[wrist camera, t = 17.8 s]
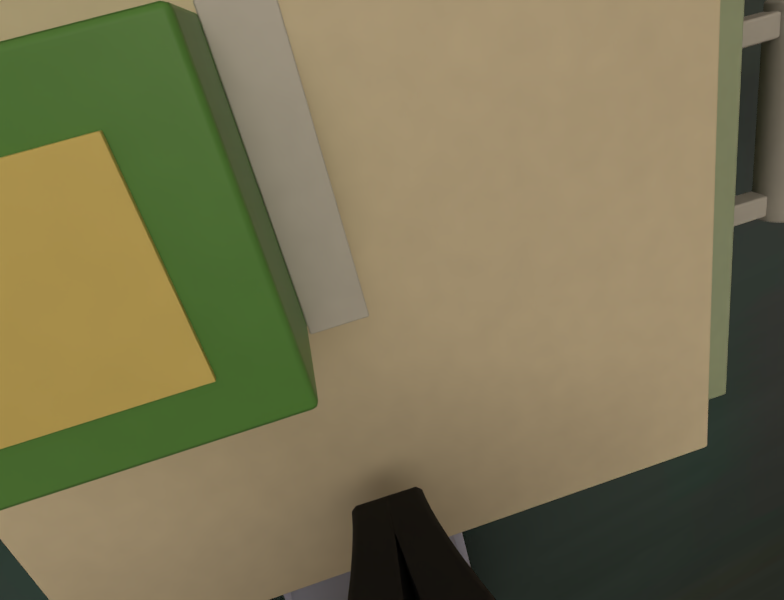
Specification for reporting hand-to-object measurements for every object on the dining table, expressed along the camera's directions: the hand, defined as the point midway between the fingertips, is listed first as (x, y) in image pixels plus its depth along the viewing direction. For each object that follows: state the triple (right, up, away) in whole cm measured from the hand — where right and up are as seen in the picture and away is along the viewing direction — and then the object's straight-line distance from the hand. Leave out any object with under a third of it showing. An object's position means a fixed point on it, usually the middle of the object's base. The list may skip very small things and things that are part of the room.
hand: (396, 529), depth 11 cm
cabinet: (-3, +8, +6) cm, 10 cm away
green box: (-5, +6, -2) cm, 8 cm away
